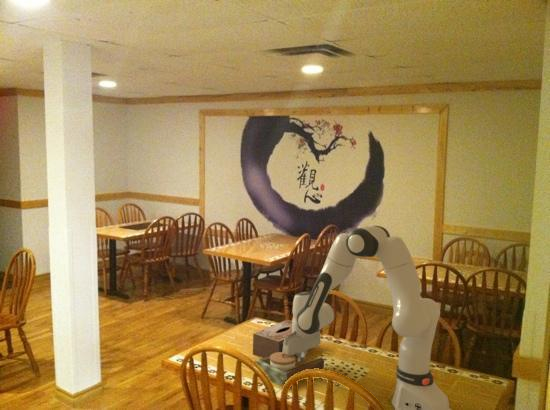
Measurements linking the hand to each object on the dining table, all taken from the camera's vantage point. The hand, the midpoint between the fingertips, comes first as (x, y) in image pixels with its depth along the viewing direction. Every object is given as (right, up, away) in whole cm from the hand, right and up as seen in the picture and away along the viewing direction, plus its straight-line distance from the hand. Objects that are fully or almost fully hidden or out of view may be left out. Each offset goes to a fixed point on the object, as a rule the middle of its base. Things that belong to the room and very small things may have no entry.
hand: (301, 360), depth 212 cm
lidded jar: (-8, -4, -8) cm, 12 cm away
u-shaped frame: (-4, -3, -3) cm, 6 cm away
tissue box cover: (-8, -1, +18) cm, 20 cm away
